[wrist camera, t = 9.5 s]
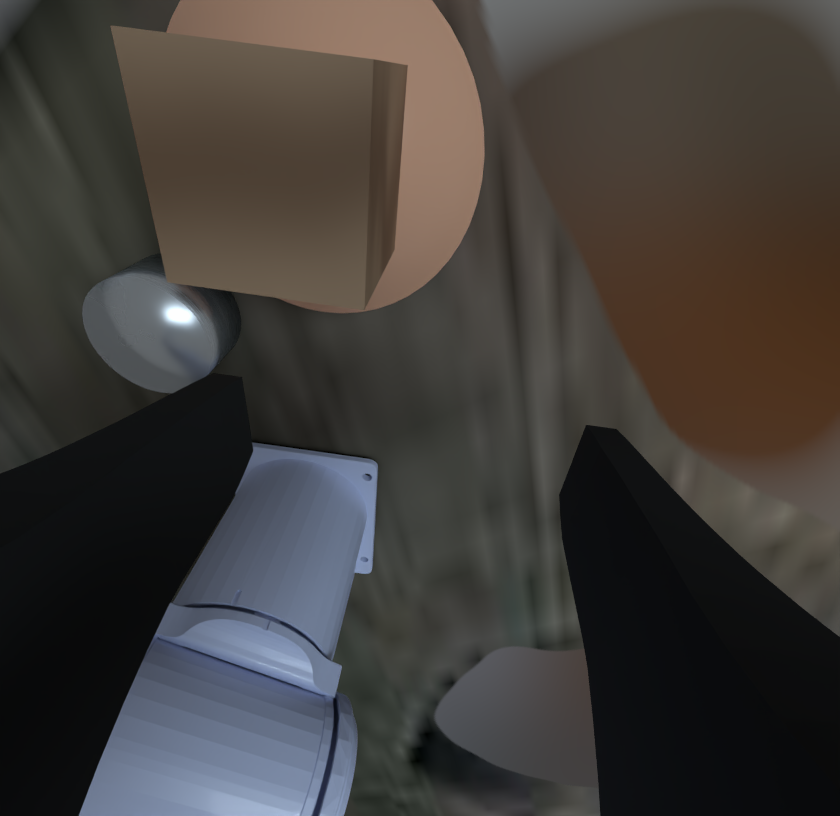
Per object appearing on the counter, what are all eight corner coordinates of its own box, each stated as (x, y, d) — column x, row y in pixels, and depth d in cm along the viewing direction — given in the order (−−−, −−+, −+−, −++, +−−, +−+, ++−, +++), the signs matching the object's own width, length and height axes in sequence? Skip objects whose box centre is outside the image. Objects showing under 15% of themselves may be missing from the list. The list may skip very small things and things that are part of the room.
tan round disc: (461, 302, 19) (458, 329, 17) (221, 271, 19) (191, 294, 17) (511, -28, 13) (517, -48, 11) (168, -66, 14) (113, -91, 11)
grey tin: (248, 364, 22) (220, 400, 20) (146, 351, 22) (105, 384, 20) (233, 260, 19) (197, 286, 17) (115, 245, 19) (63, 269, 17)
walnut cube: (394, 249, 16) (364, 310, 12) (248, 229, 16) (167, 282, 12) (407, 65, 13) (373, 59, 9) (227, 42, 13) (110, 25, 9)
